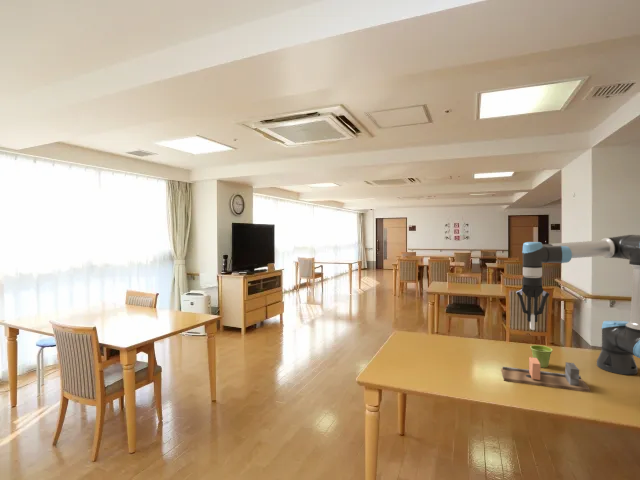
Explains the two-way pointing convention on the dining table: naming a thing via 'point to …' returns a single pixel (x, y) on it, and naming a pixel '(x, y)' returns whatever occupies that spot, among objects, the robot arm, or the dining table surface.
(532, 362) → the sliding point
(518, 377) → the board
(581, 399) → the dining table surface
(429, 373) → the dining table surface
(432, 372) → the dining table surface
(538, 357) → the plant pot
